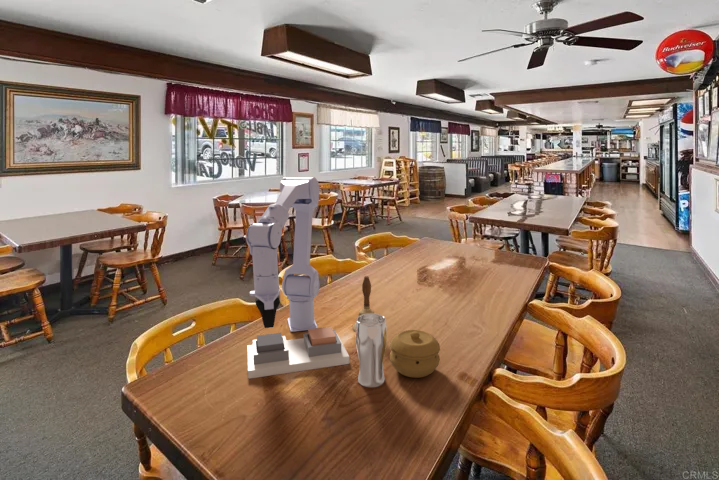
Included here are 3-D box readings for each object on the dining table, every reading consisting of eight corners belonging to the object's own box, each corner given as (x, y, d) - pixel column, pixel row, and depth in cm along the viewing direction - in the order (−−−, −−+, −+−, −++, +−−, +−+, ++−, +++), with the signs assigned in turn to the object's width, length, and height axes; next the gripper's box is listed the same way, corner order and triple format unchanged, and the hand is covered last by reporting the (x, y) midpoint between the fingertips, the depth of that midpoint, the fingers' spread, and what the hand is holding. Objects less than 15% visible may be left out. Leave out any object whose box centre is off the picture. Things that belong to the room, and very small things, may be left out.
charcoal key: (257, 346, 103) (256, 335, 102) (281, 343, 104) (281, 332, 104) (258, 358, 97) (257, 346, 96) (283, 354, 99) (283, 343, 98)
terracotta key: (308, 339, 106) (308, 329, 105) (331, 337, 108) (330, 326, 107) (312, 350, 100) (312, 339, 100) (336, 347, 102) (335, 336, 101)
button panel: (247, 352, 106) (246, 336, 105) (337, 340, 112) (337, 325, 111) (248, 378, 94) (247, 360, 93) (349, 363, 100) (349, 346, 99)
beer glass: (384, 371, 96) (385, 312, 93) (387, 388, 90) (388, 325, 86) (355, 372, 96) (355, 313, 93) (356, 389, 89) (355, 326, 86)
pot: (391, 384, 91) (391, 343, 89) (387, 358, 103) (388, 321, 100) (443, 384, 91) (445, 343, 89) (434, 358, 102) (435, 321, 100)
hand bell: (385, 331, 118) (385, 279, 114) (358, 336, 115) (358, 282, 111) (373, 320, 125) (374, 271, 122) (348, 324, 122) (348, 274, 119)
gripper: (248, 266, 102) (251, 316, 105) (248, 284, 88) (252, 341, 91) (276, 264, 104) (279, 313, 107) (281, 281, 90) (284, 337, 93)
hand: (269, 326), depth 99 cm, fingers closed
